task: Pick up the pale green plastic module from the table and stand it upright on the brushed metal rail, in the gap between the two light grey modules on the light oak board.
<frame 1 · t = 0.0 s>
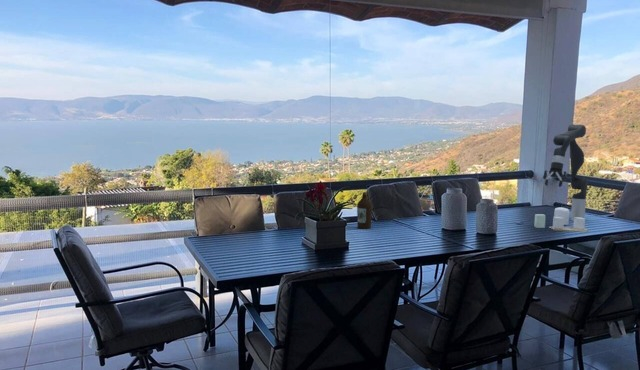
hand: (552, 186, 334), 31 cm above the table, tool tilted 20°, fingers open, 8 cm apart
metal rail: (568, 228, 345), on the rail board, point 1 cm above the table
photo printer: (561, 224, 364), on the table
olive oil: (364, 228, 346), on the table
loose module: (539, 227, 353), on the table
mounted modules: (568, 222, 344), on the metal rail, point 5 cm above the table
rail board: (568, 229, 345), on the table
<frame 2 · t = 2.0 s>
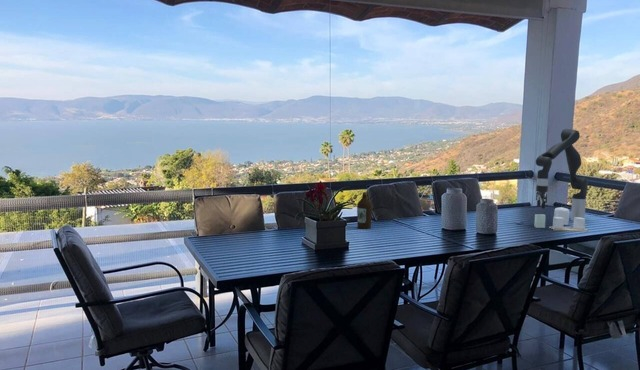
hand: (540, 207, 351), 14 cm above the table, tool pointing down, fingers open, 8 cm apart
nothing on the table moved.
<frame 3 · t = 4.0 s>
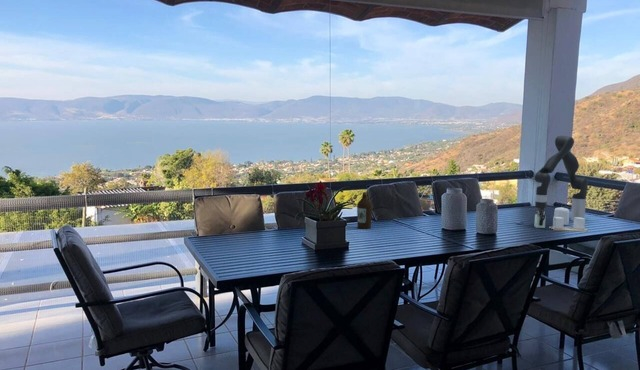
hand: (539, 224, 353), 2 cm above the table, tool pointing down, fingers closed on loose module, 4 cm apart
loose module: (539, 227, 353), on the table, touching gripper
everything else where it was.
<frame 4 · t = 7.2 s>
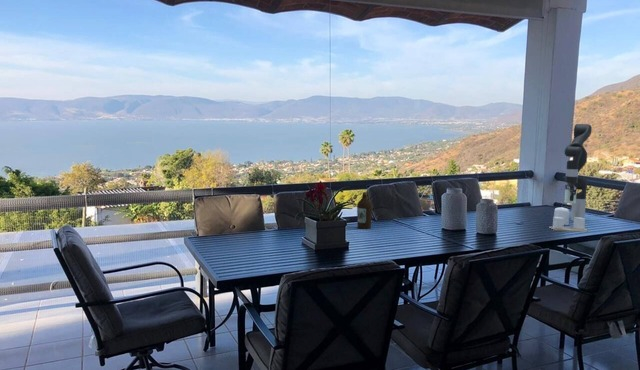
hand: (570, 200, 342), 21 cm above the table, tool pointing down, fingers closed on loose module, 4 cm apart
loose module: (569, 202, 343), point 19 cm above the table, touching gripper
everything else where it was.
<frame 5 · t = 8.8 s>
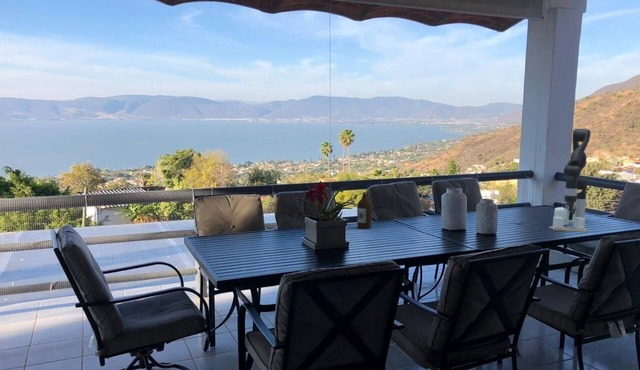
hand: (569, 219, 344), 8 cm above the table, tool pointing down, fingers closed on loose module, 4 cm apart
loose module: (568, 221, 344), point 6 cm above the table, touching gripper
everything else where it was.
when the fingers open (4 cm above the table, at t = 10.2 s): loose module stays where it is, resting on metal rail.
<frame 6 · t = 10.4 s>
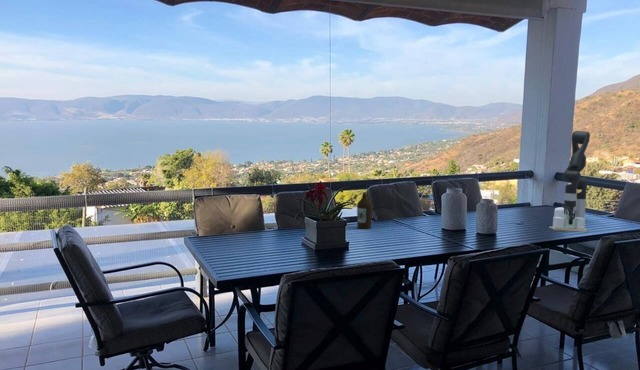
hand: (568, 223, 344), 4 cm above the table, tool pointing down, fingers open, 5 cm apart
loose module: (568, 227, 345), point 1 cm above the table, touching metal rail
everything else where it was.
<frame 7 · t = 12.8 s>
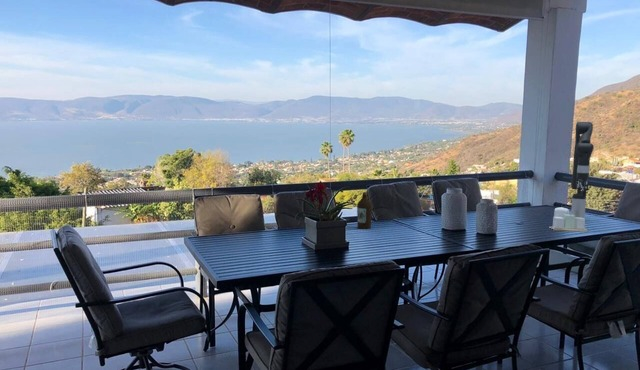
hand: (581, 194, 345), 24 cm above the table, tool pointing down, fingers open, 8 cm apart
nothing on the table moved.
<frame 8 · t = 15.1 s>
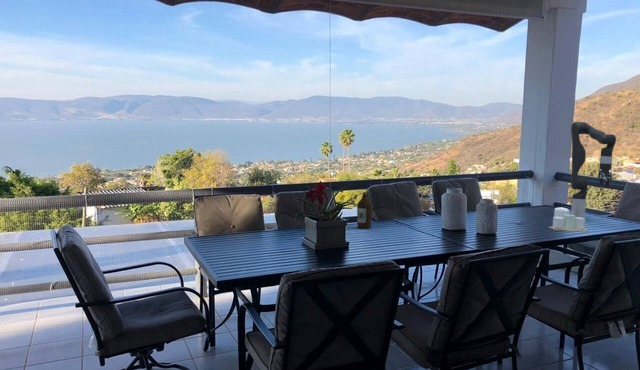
hand: (604, 185, 350), 30 cm above the table, tool pointing down, fingers open, 8 cm apart
nothing on the table moved.
at the end: loose module 0.0 cm off-centre on the rail board, point 1.4 cm above the rail board's base; loose module tilted 0°; the gripper is holding nothing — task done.
